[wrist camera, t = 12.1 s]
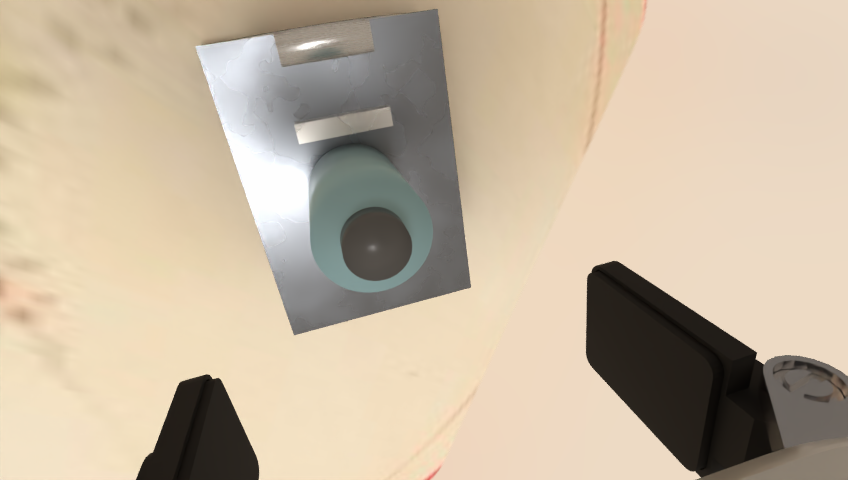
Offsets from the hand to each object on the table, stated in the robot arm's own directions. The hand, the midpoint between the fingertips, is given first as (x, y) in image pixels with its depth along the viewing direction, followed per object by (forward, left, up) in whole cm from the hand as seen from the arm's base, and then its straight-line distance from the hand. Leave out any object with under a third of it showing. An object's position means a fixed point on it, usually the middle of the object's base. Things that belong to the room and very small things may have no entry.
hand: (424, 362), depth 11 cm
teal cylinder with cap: (0, 0, -16) cm, 16 cm away
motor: (0, 0, -28) cm, 28 cm away
